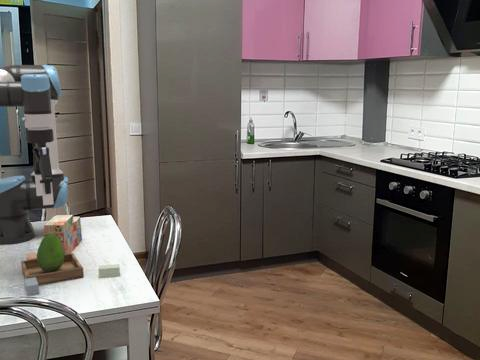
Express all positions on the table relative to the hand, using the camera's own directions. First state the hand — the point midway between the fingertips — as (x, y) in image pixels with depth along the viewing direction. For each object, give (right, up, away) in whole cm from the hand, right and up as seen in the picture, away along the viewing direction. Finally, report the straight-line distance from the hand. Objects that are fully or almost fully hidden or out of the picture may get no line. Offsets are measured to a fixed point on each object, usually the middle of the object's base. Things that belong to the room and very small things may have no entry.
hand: (44, 199), depth 147 cm
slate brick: (0, -25, -9) cm, 27 cm away
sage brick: (+19, -23, +2) cm, 30 cm away
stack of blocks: (-3, -19, +27) cm, 33 cm away
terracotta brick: (-9, -21, +12) cm, 26 cm away
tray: (+1, -23, +4) cm, 23 cm away
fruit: (+1, -22, +4) cm, 23 cm away
